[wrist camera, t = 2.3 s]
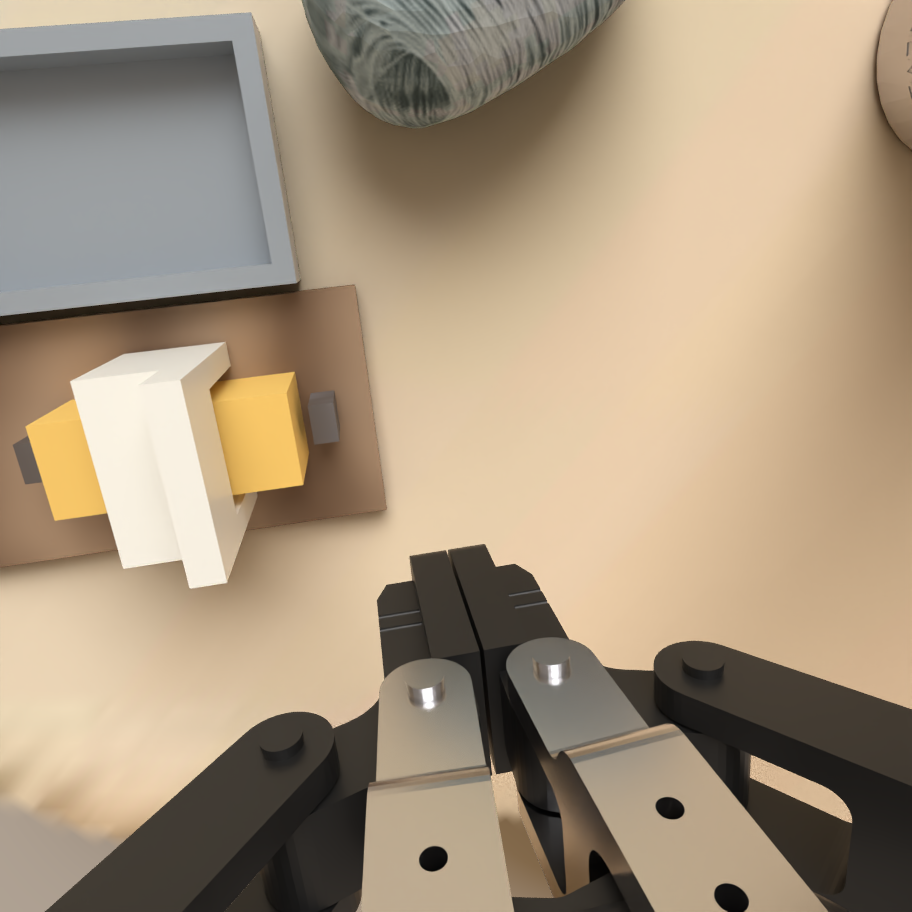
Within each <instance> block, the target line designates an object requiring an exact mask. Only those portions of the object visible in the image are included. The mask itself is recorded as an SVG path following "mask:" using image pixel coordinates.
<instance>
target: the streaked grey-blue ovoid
mask: <svg viewBox="0 0 912 912" xmlns="http://www.w3.org/2000/svg"><path fill="white" fill-rule="evenodd" d="M624 1H625V0H302V3H303V7H304V10H305V15H306V18H307V21H308V23H309V26H310V28H311V31H312V33H313V35H314V38H315V40H316V43H317V46H318V48H319V50H320V51H321V53H322V55H323V57H324V58H325V60H326V62H327V64H328V65H329V67H330V69H331V70H332V71H333V73H334V74H335V76H336V77H337V79H338V80H339V81H340V83H341V84H342V86H343V87H344V88H345V90H346V91H347V92H348V93H349V94H350V95H351V97H352V98H353V99H354V100H355V101H356V102H357V103H358V104H359V105H360V106H362V107H363V108H364V109H365V110H366V111H368V112H369V113H371V114H372V115H374V116H375V117H377V118H378V119H380V120H382V121H384V122H387V123H390V124H392V125H397V126H403V127H408V128H425V127H428V126H431V125H434V124H438V123H441V122H444V121H447V120H450V119H454V118H457V117H459V116H462V115H464V114H467V113H470V112H472V111H474V110H475V109H477V108H479V107H480V106H482V105H484V104H485V103H487V102H489V101H491V100H492V99H494V98H496V97H498V96H500V95H501V94H503V93H505V92H507V91H509V90H510V89H512V88H514V87H515V86H517V85H519V84H520V83H522V82H523V81H525V80H526V79H528V78H530V77H531V76H532V75H534V74H535V73H537V72H538V71H540V70H541V69H543V68H544V67H545V66H547V65H548V64H550V63H551V62H553V61H554V60H556V59H557V58H559V57H560V56H562V55H564V54H565V53H567V52H568V51H569V50H571V49H572V48H573V47H575V46H576V45H577V44H579V43H580V42H581V41H582V40H583V39H584V38H585V37H586V36H587V35H588V34H589V33H591V32H592V31H593V30H594V29H596V28H597V27H598V26H599V25H601V24H602V23H603V22H604V21H605V20H606V19H607V18H608V17H609V16H611V15H612V13H613V12H614V11H615V10H616V9H617V8H618V7H619V6H620V5H621V4H622V3H623V2H624Z"/></svg>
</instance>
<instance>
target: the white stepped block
mask: <svg viewBox="0 0 912 912" xmlns="http://www.w3.org/2000/svg"><path fill="white" fill-rule="evenodd" d="M230 366H231V365H230V360H229V355H228V351H227V346H226V342H220V343H212V344H203V345H195V346H187V347H178V348H170V349H161V350H153V351H145V352H136V353H128V354H123V355H121V356H119V357H117V358H115V359H113V360H111V361H109V362H107V363H105V364H103V365H101V366H99V367H97V368H95V369H93V370H91V371H89V372H87V373H85V374H84V375H82V376H80V377H78V378H76V379H74V380H72V381H70V383H71V387H72V390H73V394H74V397H75V401H76V404H77V408H78V411H79V415H80V418H81V422H82V425H83V429H84V432H85V436H86V439H87V443H88V446H89V450H90V453H91V457H92V461H93V464H94V468H95V471H96V475H97V478H98V482H99V485H100V489H101V492H102V496H103V499H104V503H105V506H106V510H107V513H108V517H109V520H110V524H111V527H112V531H113V534H114V538H115V541H116V545H117V549H118V552H119V556H120V559H121V563H122V566H123V569H126V568H132V567H139V566H146V565H152V564H159V563H165V562H172V561H178V560H182V561H183V565H184V569H185V573H186V577H187V581H188V585H189V588H190V589H191V588H198V587H204V586H210V585H217V584H223V583H227V582H228V579H229V576H230V573H231V570H232V568H233V565H234V562H235V559H236V556H237V553H238V551H239V548H240V545H241V542H242V539H243V536H244V533H245V531H246V528H247V525H248V522H249V519H250V516H251V514H252V511H253V508H254V505H255V502H256V499H257V492H251V493H244V494H237V495H232V491H231V486H230V481H229V477H228V472H227V468H226V463H225V459H224V454H223V449H222V445H221V440H220V436H219V431H218V427H217V422H216V417H215V413H214V408H213V404H212V399H211V395H210V390H209V389H210V388H211V387H212V386H213V385H214V383H215V382H216V381H217V380H218V379H219V378H220V377H221V376H222V375H223V374H224V373H225V372H226V371H227V369H228V368H229V367H230Z"/></svg>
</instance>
